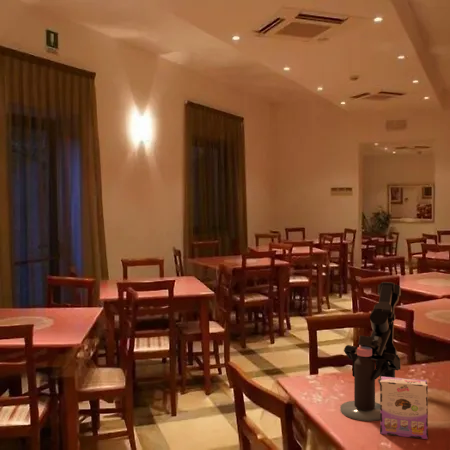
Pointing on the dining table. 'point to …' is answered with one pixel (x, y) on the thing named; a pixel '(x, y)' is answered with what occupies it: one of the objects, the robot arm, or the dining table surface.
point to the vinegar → (364, 380)
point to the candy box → (404, 407)
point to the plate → (360, 412)
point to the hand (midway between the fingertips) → (362, 378)
